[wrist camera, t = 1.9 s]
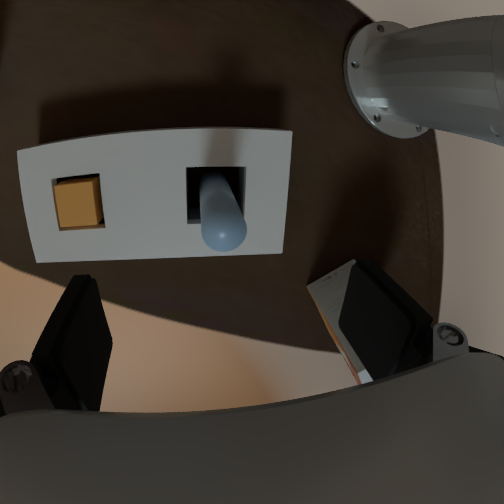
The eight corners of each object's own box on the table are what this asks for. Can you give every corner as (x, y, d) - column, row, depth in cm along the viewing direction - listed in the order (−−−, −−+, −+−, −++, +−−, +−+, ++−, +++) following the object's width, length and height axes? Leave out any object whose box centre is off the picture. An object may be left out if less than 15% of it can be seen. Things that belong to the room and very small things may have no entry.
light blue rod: (227, 169, 25) (248, 208, 15) (226, 196, 26) (246, 251, 16) (199, 170, 24) (200, 209, 15) (199, 197, 25) (201, 252, 16)
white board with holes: (278, 128, 24) (292, 131, 20) (270, 234, 28) (282, 253, 25) (38, 144, 20) (16, 150, 16) (53, 243, 24) (36, 262, 21)
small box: (304, 285, 32) (356, 373, 20) (354, 257, 31) (422, 331, 20) (326, 329, 35) (370, 409, 24) (369, 304, 35) (424, 376, 24)
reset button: (100, 176, 20) (92, 181, 19) (104, 216, 22) (97, 224, 20) (64, 180, 20) (54, 186, 18) (69, 218, 21) (60, 227, 20)
